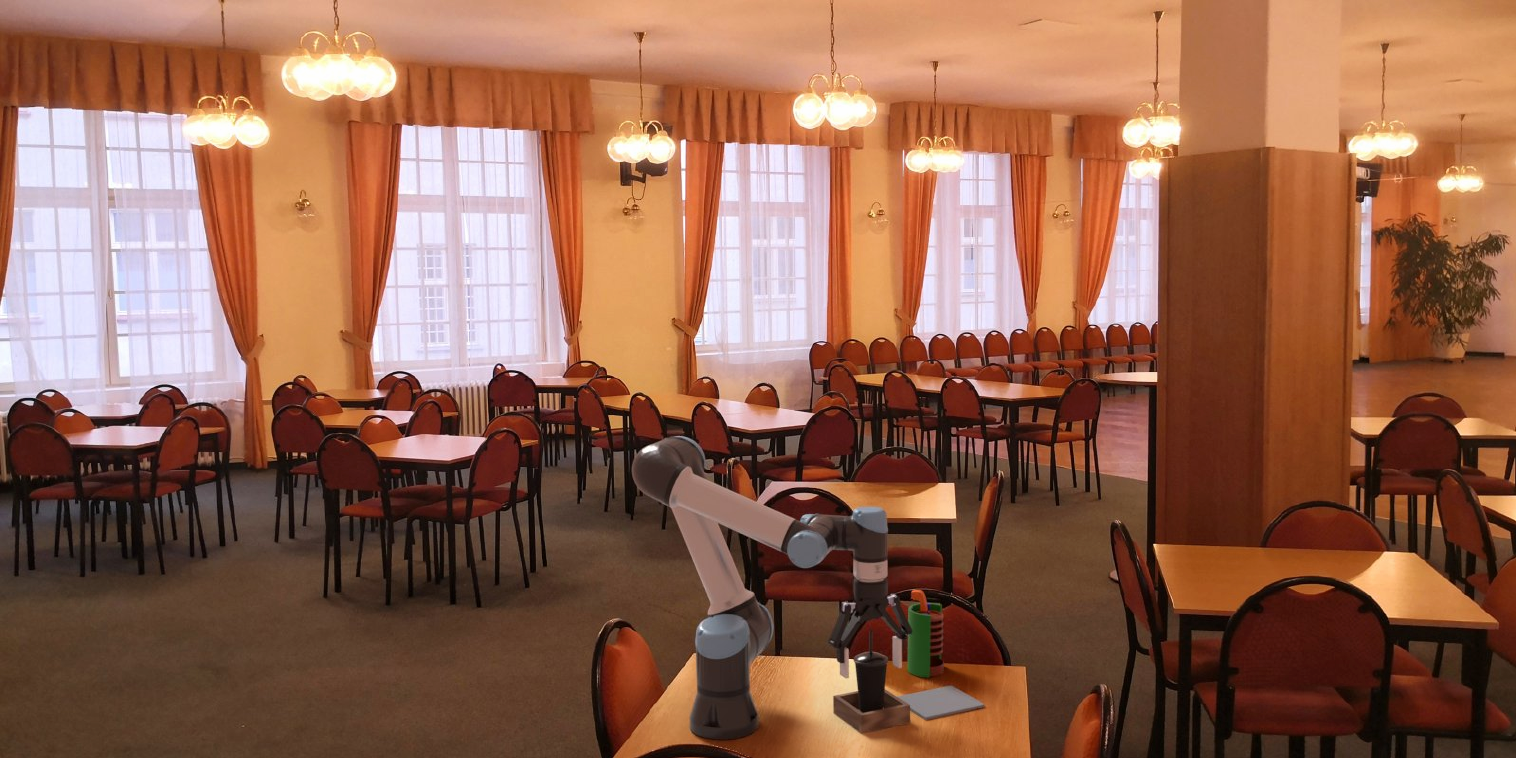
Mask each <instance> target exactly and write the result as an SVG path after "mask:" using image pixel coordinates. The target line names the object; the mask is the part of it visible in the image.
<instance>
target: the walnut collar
mask: <svg viewBox="0 0 1516 758" xmlns="http://www.w3.org/2000/svg"><path fill="white" fill-rule="evenodd" d="M832 697H833V699H832V700H833V707H832V708H833V710H832V711H833V714H834V715H836V716H837V717H838V718H840V720H842V721H844V722H845V723H847V724H848V725H849V726H850V727H852V728H854V730H856V731H858V732H859V733H860V734H864V733H870V732H874V731H879V730H883V729H888V728H893V727H897V726H901V725H905V724H906V725H907V724H910V723H911V710H910V705H909V704H907V703H906V702H904V701H903V700H901V699H900V698H898V696H896V695H895V694H893V693H891V692H890V691H889V690H887V689H885V692H884V703H883V709H880V710H875V711H870V712H866V713H862V712H861V711H860V707H859V697H858V690H856V691H855V690H854V691H852V692H851V691H850V692H846V693H842V694H841V693H840V694H837V695H832Z"/></svg>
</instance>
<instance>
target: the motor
mask: <svg viewBox="0 0 1516 758" xmlns="http://www.w3.org/2000/svg"><path fill="white" fill-rule="evenodd" d="M911 599H913V600H912V601H918V603H913V604H911V605H910V606H908V611H907V612H908V613H907V614H908V615H907V616H908V617H907V620H908V622H909V624H910V626H911V629H912V631H913V632H912V634H908V635H907V636H908V637H907V671H908V673H909V674H911V675H912V676H915V677H920V678H925V677H926V679H929V678H930V677H935V676H939V675H942V674H943V673H944V672H945V671H944V670H945V668H944V666H945V662H944V660H943V659H942V654H943V650H944V649H943V645H944V641H943V639H944V634H943V633H944V627H943V626H944V620H943V619H944V613H943V604H940V603H932V602H928V601H927V597H926V594H925V593H924V591H923V590H921V589H915V590H912V591H911V593H910V600H911ZM943 671H944V672H943ZM941 673H942V674H941Z"/></svg>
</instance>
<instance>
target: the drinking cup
mask: <svg viewBox="0 0 1516 758" xmlns="http://www.w3.org/2000/svg"><path fill="white" fill-rule="evenodd" d="M868 633H869V637H868V639H869V641H868V642H869V643H868V644H869V648H868V649H869V651H865V652H862V653H859V654H856V655H855V656H853V662H854V664H855V674H856V687H857V691H858V697H859V707H860V710H859V711H861V712H862V713H866V712H870V711H875V710H880V709H884V708H883V703H884V692H885V690H886V679H887V670H888V669H887V667H888V663H889V657H888V656H887V655H884V654H882V653H879V652H876V651H873V630H871V629H870V630H869V632H868Z"/></svg>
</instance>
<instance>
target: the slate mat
mask: <svg viewBox="0 0 1516 758" xmlns="http://www.w3.org/2000/svg"><path fill="white" fill-rule="evenodd" d="M897 697H898V698H900V699H901V700H903V701H904V702H906V703H907V704H909V705H910V712H912V713H914V714H916V715H917V716H918V717H920V718H922V719H923V720H925V721H927V720H932V719H936V718H940V717H945V716H950V715H955V714H959V713H963V712H967V711H972V710H977V708H978V709H981V708H982V709H983V708H985V707H986V706H985V705H986V704H985V703H982V702H981V701H980V700H978V699H976V698H975V697H973V696H971V695H969V694H967V693H965V692H963V691H962V690H960V689H959V688H957V687H955V686H954V685H946V686H942V687H937V688H931V689H926V690H922V691H918V692H917V691H916V692H913V693H908V694H903V695H899V696H897Z"/></svg>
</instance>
